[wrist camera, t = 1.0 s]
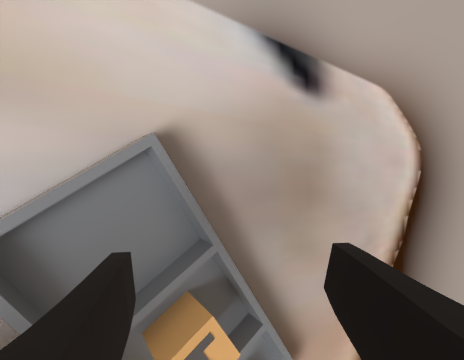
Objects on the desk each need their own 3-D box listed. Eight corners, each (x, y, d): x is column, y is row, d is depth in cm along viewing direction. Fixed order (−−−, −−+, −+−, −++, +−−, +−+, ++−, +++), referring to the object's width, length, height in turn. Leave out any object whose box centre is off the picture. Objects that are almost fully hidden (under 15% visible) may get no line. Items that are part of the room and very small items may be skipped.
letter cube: (172, 368, 20) (195, 410, 16) (141, 333, 18) (160, 372, 15) (212, 325, 21) (241, 355, 18) (187, 290, 20) (213, 316, 17)
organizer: (205, 482, 22) (220, 513, 20) (-47, 244, 13) (-66, 258, 11) (289, 367, 27) (307, 383, 25) (143, 136, 18) (154, 132, 16)
